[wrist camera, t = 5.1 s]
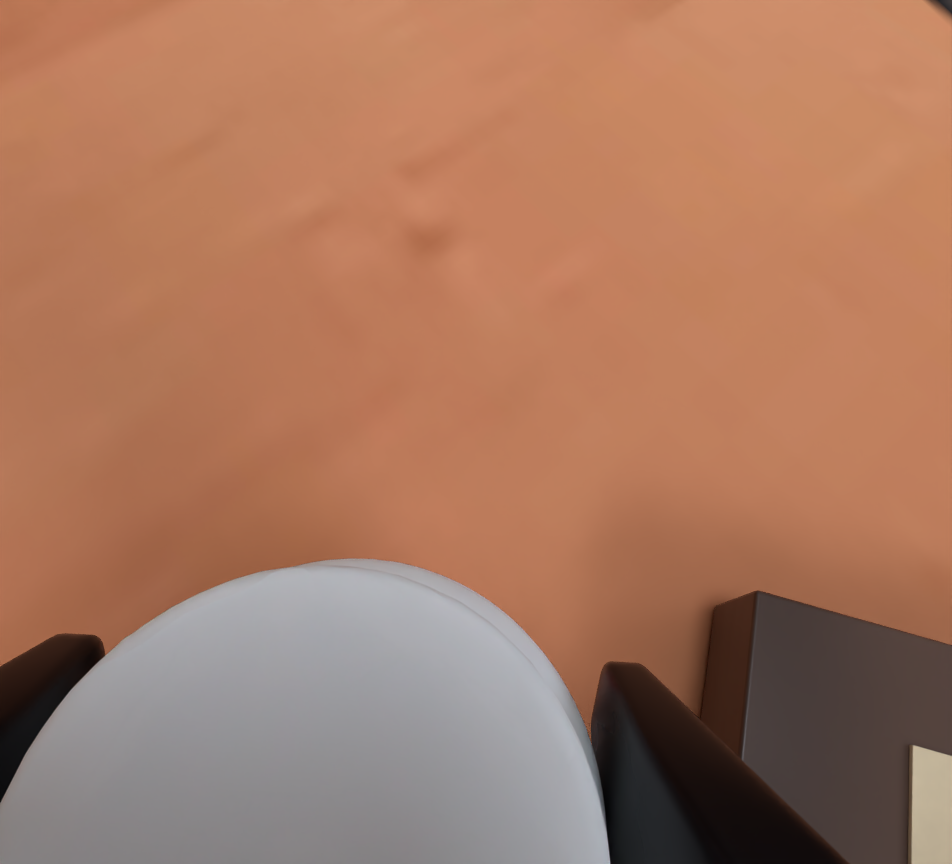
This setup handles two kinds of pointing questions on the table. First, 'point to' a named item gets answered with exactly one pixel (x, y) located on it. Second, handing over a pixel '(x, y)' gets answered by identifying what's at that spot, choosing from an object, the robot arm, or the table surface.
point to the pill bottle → (314, 735)
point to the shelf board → (838, 723)
